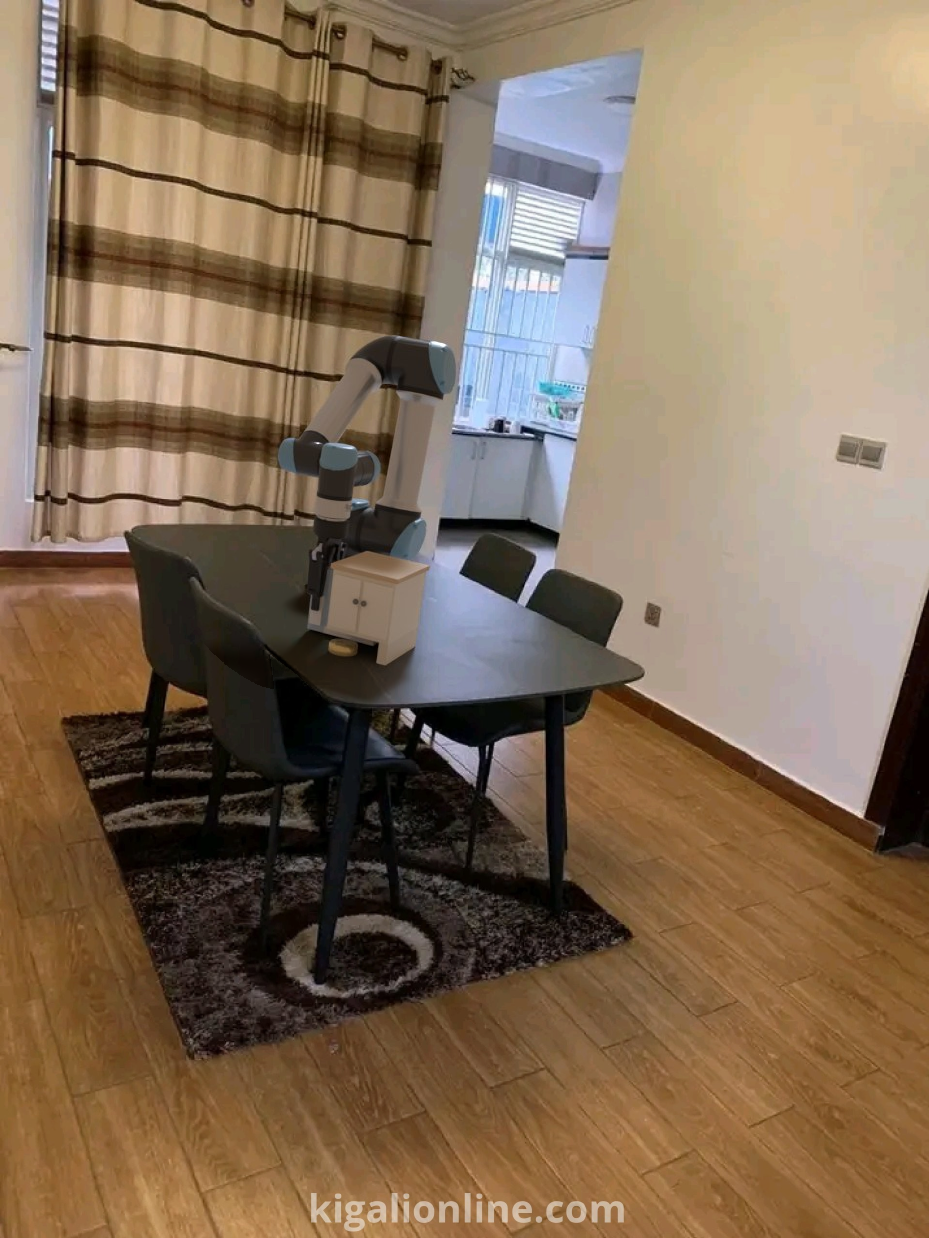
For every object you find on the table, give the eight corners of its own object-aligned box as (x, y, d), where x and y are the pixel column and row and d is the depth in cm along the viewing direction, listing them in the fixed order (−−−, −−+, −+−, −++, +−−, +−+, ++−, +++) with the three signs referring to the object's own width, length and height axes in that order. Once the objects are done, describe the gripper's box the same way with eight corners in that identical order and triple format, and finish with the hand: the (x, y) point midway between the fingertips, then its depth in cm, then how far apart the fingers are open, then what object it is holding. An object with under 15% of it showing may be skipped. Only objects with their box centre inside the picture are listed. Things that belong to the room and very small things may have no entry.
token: (323, 652, 193) (324, 643, 193) (336, 645, 199) (337, 636, 198) (348, 659, 192) (350, 650, 191) (361, 652, 197) (362, 643, 197)
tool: (307, 628, 204) (313, 566, 200) (316, 624, 208) (322, 563, 204) (373, 645, 200) (381, 583, 196) (380, 641, 203) (389, 579, 199)
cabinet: (318, 650, 194) (328, 564, 188) (357, 630, 210) (367, 550, 205) (384, 668, 189) (396, 580, 184) (418, 646, 206) (429, 565, 201)
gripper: (329, 525, 190) (316, 634, 196) (365, 516, 205) (353, 617, 212) (296, 518, 192) (285, 626, 198) (335, 509, 207) (323, 609, 214)
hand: (320, 621), depth 205 cm, fingers closed on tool, 4 cm apart
